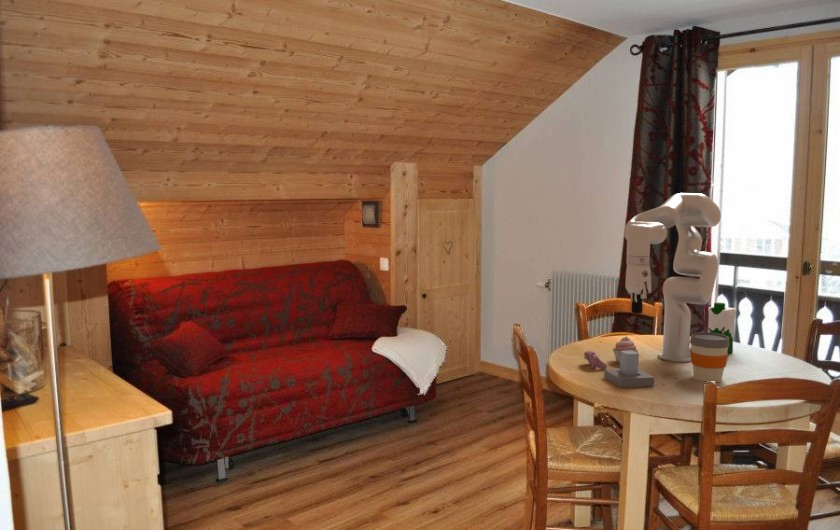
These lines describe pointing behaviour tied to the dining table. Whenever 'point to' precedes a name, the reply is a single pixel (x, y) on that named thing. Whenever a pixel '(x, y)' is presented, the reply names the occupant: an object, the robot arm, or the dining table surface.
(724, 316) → the milk carton
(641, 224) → the robot arm
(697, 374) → the reusable coffee cup
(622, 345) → the cupcake
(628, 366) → the plug
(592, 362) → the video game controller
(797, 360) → the dining table surface
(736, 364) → the dining table surface
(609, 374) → the socket
